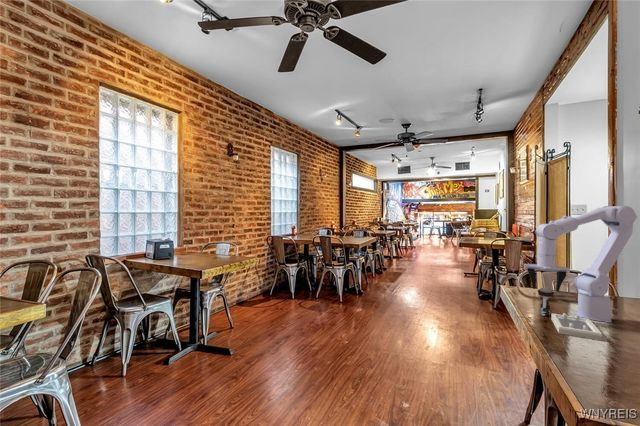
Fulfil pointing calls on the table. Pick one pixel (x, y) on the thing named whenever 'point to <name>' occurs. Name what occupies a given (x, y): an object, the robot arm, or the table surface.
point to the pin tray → (575, 326)
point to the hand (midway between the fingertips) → (545, 289)
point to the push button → (545, 300)
